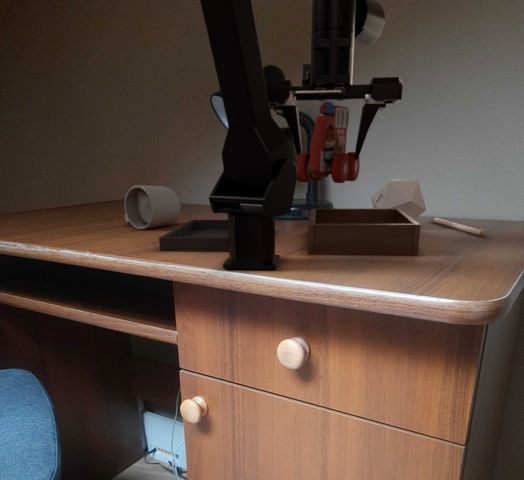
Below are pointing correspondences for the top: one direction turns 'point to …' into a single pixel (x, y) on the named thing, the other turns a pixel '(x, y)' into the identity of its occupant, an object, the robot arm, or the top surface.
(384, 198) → the die
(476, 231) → the pencil
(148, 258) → the top surface
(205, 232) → the desk tray
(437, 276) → the top surface
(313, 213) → the toy crate
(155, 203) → the ceramic mug
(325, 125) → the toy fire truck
